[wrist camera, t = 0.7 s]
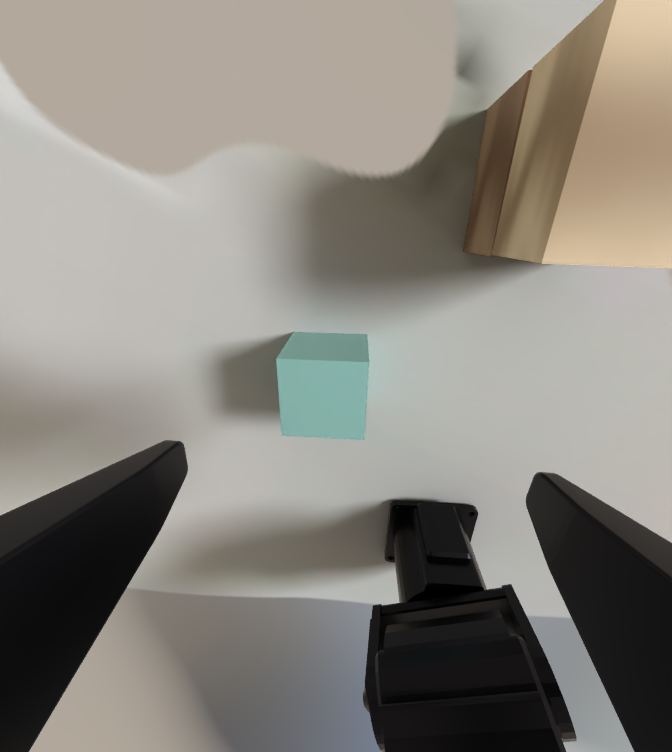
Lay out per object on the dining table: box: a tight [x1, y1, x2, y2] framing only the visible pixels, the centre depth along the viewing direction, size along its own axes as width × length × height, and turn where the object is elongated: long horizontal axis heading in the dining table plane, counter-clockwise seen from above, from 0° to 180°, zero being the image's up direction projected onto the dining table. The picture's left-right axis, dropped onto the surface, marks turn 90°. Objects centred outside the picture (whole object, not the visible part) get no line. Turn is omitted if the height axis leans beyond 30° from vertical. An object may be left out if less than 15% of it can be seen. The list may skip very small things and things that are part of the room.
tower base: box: [463, 70, 532, 257], centre depth 14 cm, size 6×6×4 cm
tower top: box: [492, 0, 672, 268], centre depth 10 cm, size 6×6×4 cm
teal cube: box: [276, 332, 369, 440], centre depth 18 cm, size 4×4×4 cm
